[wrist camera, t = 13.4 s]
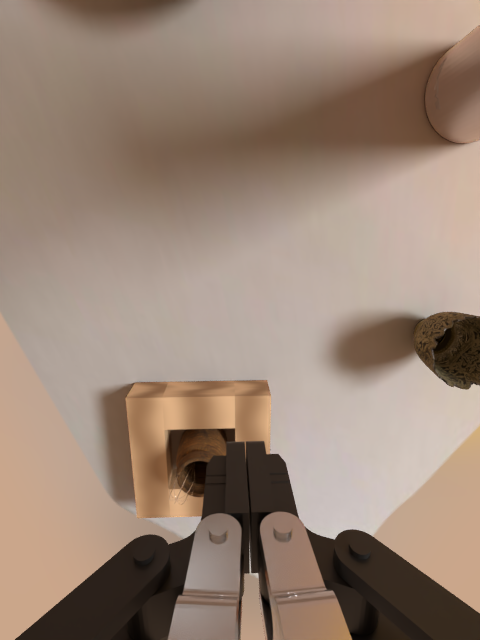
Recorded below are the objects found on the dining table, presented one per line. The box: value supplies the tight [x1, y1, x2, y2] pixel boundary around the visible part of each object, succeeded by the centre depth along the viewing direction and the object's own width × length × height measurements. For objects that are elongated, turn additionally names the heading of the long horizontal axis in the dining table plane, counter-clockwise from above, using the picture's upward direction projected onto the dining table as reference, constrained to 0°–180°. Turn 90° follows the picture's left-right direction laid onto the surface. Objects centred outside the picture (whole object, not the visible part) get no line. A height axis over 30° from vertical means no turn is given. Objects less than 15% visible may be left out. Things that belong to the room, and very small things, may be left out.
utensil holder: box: [169, 429, 228, 505], centre depth 37 cm, size 6×6×12 cm
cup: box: [414, 312, 480, 389], centre depth 37 cm, size 8×7×8 cm
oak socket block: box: [125, 380, 271, 518], centre depth 42 cm, size 16×16×4 cm
